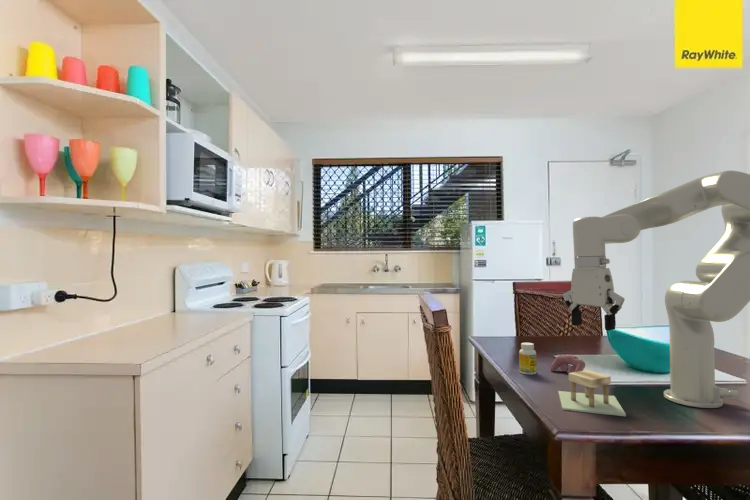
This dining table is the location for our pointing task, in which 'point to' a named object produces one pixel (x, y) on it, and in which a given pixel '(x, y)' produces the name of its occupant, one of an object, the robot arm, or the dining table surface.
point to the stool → (590, 384)
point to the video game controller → (568, 359)
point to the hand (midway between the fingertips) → (593, 327)
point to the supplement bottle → (527, 359)
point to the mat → (583, 404)
